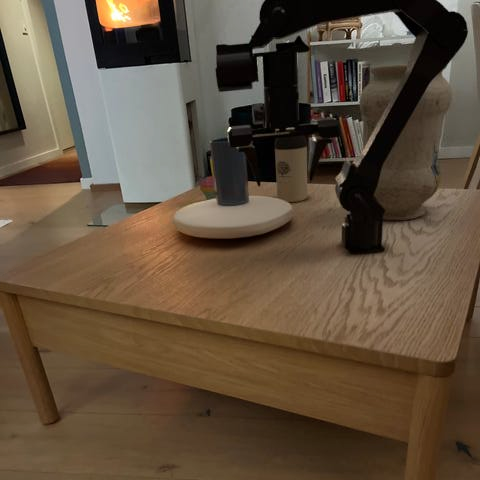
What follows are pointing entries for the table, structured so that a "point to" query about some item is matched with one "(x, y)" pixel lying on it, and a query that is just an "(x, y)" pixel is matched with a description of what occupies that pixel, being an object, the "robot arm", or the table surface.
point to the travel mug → (291, 168)
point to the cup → (229, 173)
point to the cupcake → (208, 186)
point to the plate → (233, 218)
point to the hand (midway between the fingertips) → (284, 183)
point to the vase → (407, 142)
